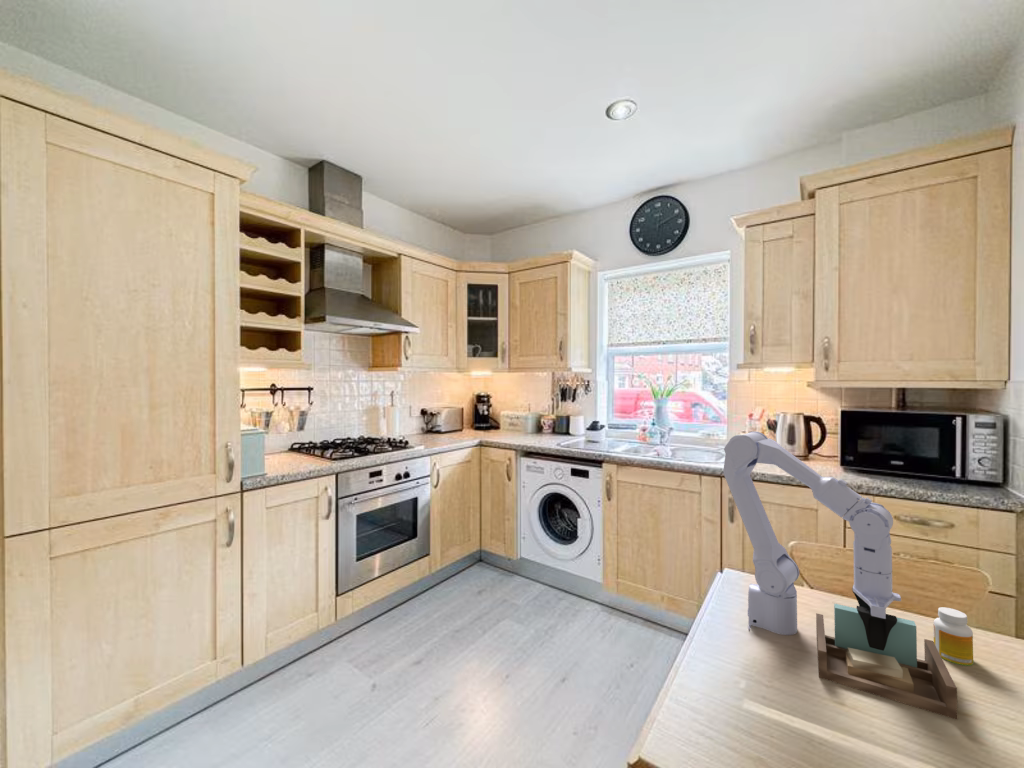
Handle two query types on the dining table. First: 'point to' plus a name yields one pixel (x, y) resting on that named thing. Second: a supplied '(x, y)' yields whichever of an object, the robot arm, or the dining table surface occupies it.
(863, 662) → the ash offcut
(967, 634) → the supplement bottle
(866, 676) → the oak offcut
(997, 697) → the dining table surface
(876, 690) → the walnut rack
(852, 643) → the teal sheet
